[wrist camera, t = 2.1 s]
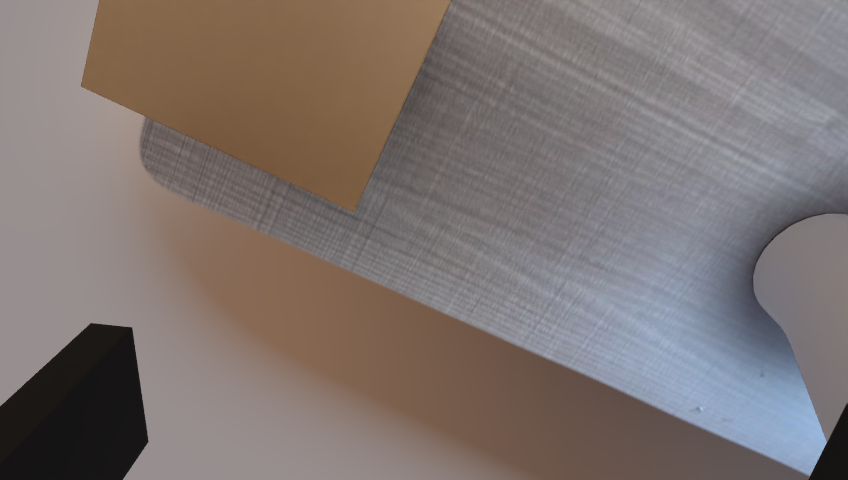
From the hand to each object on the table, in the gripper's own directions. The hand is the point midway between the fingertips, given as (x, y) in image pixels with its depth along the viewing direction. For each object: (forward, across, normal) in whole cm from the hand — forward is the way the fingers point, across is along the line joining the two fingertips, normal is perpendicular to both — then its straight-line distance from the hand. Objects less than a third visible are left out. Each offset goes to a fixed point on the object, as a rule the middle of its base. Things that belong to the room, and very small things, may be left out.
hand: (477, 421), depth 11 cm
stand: (+26, -7, +5) cm, 27 cm away
